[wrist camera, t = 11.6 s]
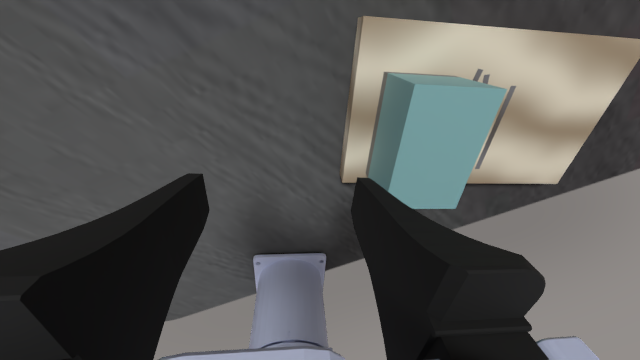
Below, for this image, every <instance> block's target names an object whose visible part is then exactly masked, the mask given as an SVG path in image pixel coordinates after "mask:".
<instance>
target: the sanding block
mask: <svg viewBox="0 0 640 360" xmlns="http://www.w3.org/2000/svg"><path fill="white" fill-rule="evenodd" d="M506 91H507V89H505V88H501V87H497V86H493V85H489V84H485V83H481V82H477V81H473V80H469V79H465V78H461V77H457V76H450V75H433V74H417V73H400V72H384V74H383V80H382V85H381V91H380V96H379V102H378V107H377V113H376V118H375V124H374V129H373V135H372V140H371V146H370V151H369V157H368V162H367V168H366V175H367V177H368V178H370V179H372V180H373V181H375V182H376V183H377V184H379V185H380V186H381V187H383V188H384V189H385V190H387V191H388V192H389V193H390V194H392V195H393V196H394V197H396V198H397V199H399V200H400V201H401V202H403V203H404V204H406V205H407V206H409V207H410V208H412V209H455V208H456V206H457V204H458V201H459V199H460V197H461V194H462V192H463V190H464V188H465V185H466V183H467V181H468V178H469V176H470V174H471V171H472V169H473V167H474V165H475V162H476V160H477V158H478V155H479V153H480V151H481V148H482V146H483V144H484V142H485V139H486V137H487V135H488V132H489V130H490V128H491V126H492V123H493V121H494V119H495V116H496V114H497V112H498V109H499V107H500V105H501V103H502V100H503V98H504V96H505V93H506Z"/></svg>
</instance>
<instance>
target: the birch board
mask: <svg viewBox="0 0 640 360" xmlns="http://www.w3.org/2000/svg"><path fill="white" fill-rule="evenodd" d="M639 58H640V39H632V38H620V37H608V36H596V35H584V34H572V33H560V32H548V31H536V30H524V29H512V28H500V27H488V26H476V25H465V24H453V23H441V22H429V21H417V20H405V19H393V18H381V17H369V16H362V17H358V23H357V32H356V40H355V49H354V57H353V65H352V74H351V82H350V91H349V99H348V108H347V116H346V124H345V133H344V141H343V150H342V158H341V166H340V177H341V180H342V183H356V180H357V177H359V178H368V177H367V175H366V168H367V162H368V157H369V151H370V146H371V140H372V135H373V129H374V124H375V118H376V113H377V107H378V102H379V96H380V91H381V85H382V80H383V74H384V72H400V73H417V74H433V75H450V76H457V77H461V78H465V79H469V80H473V81H477V82H481V83H485V84H489V85H493V86H497V87H501V88H505V89H507V91H506V93H505V96H504V98H503V100H502V103H501V105H500V107H499V109H498V112H497V114H496V116H495V119H494V121H493V123H492V126H491V128H490V130H489V132H488V135H487V137H486V139H485V142H484V144H483V146H482V148H481V151H480V153H479V155H478V158H477V160H476V162H475V165H474V167H473V169H472V171H471V174H470V176H469V178H468V181H467V183H500V184H557V183H558V182H559V180H560V178H561V177H562V175H563V174H564V172H565V171H566V169H567V168H568V166H569V165H570V163H571V162H572V160H573V159H574V157H575V156H576V154H577V153H578V151H579V150H580V148H581V147H582V145H583V143H584V142H585V140H586V139H587V137H588V136H589V134H590V133H591V131H592V130H593V128H594V127H595V125H596V124H597V122H598V121H599V119H600V118H601V116H602V115H603V113H604V112H605V110H606V108H607V107H608V105H609V104H610V102H611V101H612V99H613V98H614V96H615V95H616V93H617V92H618V90H619V89H620V87H621V86H622V84H623V83H624V81H625V80H626V78H627V77H628V75H629V73H630V72H631V70H632V69H633V67H634V66H635V64H636V63H637V61H638V60H639Z"/></svg>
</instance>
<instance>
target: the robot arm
mask: <svg viewBox="0 0 640 360" xmlns="http://www.w3.org/2000/svg"><path fill="white" fill-rule="evenodd" d="M208 213H209V205H208V200H207V194H206V189H205V184H204V179H203V174H186V175H184V176H182V177H180V178H178V179H176V180H174V181H173V182H171V183H169V184H167V185H166V186H164V187H162V188H160V189H158V190H157V191H155V192H153V193H151V194H149V195H147V196H145V197H144V198H142V199H140V200H138V201H136V202H134V203H132V204H130V205H128V206H126V207H124V208H122V209H120V210H117V211H115V212H113V213H111V214H108V215H106V216H103V217H101V218H99V219H96V220H94V221H91V222H89V223H86V224H83V225H80V226H77V227H75V228H72V229H69V230H66V231H63V232H61V233H58V234H55V235H52V236H49V237H45V238H42V239H39V240H36V241H32V242H29V243H25V244H22V245H19V246H15V247H12V248H8V249H4V250H1V251H0V360H153V358H154V355H155V351H156V348H157V345H158V341H159V338H160V335H161V331H162V328H163V325H164V322H165V319H166V316H167V313H168V310H169V307H170V304H171V301H172V298H173V295H174V293H175V290H176V287H177V284H178V282H179V279H180V277H181V274H182V272H183V270H184V268H185V266H186V264H187V262H188V260H189V258H190V256H191V254H192V252H193V250H194V248H195V246H196V244H197V241H198V239H199V237H200V235H201V233H202V231H203V229H204V226H205V223H206V220H207V217H208ZM351 214H352V219H353V224H354V229H355V232H356V235H357V237H358V240H359V243H360V246H361V249H362V252H363V255H364V258H365V260H366V263H367V266H368V269H369V273H370V276H371V281H372V285H373V289H374V293H375V298H376V303H377V307H378V312H379V317H380V322H381V328H382V333H383V338H384V344H385V350H386V356H387V360H600V359H599V358H598V357H597V356H596V355H595V354H594V353H593V352H592V351H591V350H590V349H589V347H588V346H586V344H585V343H584V342H583V341H582V340H581V339H580V338H579V337H575V336H572V337H556V338H546V339H542V340H540V341H537V342H535V341H534V339H533V338H532V337H531V336H530V334H529V333H528V332H529V331H531V330H532V327H531V325H530V324H529V322H528V321H527V320H526V319H525V317H524V315H525V314H526V313H527V312H528V311H529V310H530V309H531V307H532V306H533V305H534V304H535V303H536V302H537V301H538V299H539V298H540V297H541V295H542V294H543V292H544V288H545V280H544V277H543V276H542V275H541V274H540V273H539V272H538V271H537V270H536V269H535V268H534V267H533V266H532V265H531V264H530V263H529V262H528V261H527V260H526V259H525V258H524V257H523V256H522V255H519V254H516V253H512V252H510V251H506V250H503V249H500V248H497V247H494V246H490V245H488V244H484V243H482V242H480V241H476V240H474V239H471V238H469V237H466V236H464V235H462V234H459V233H457V232H455V231H453V230H451V229H448V228H446V227H444V226H442V225H440V224H438V223H436V222H434V221H432V220H430V219H429V218H427V217H425V216H423V215H421V214H420V213H418V212H416V211H415V210H413V209H412V208H410V207H409V206H407V205H406V204H404V203H403V202H401V201H400V200H399V199H397V198H396V197H394V196H393V195H392V194H390V193H389V192H388V191H387V190H385V189H384V188H383V187H381V186H380V185H379V184H377V183H376V182H375V181H373V180H372V179H370V178H359V177H357V180H356V186H355V191H354V197H353V203H352V208H351ZM320 260H322V261H320ZM253 264H254V273H255V282H256V291H257V296H256V303H255V310H254V317H253V324H252V330H251V337H250V344H249V349H240V350H223V351H206V352H189V353H182V354H177V355H172V356H167V357H162V358H160V359H159V360H345V358H344V357H342V356H341V355H340V354H338V353H336V352H334V351H332V348H328V339H327V330H326V321H325V312H324V303H323V293H322V292H323V284H324V275H325V265H326V255H325V254H324V253H306V254H268V255H255V256H254V258H253Z"/></svg>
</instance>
